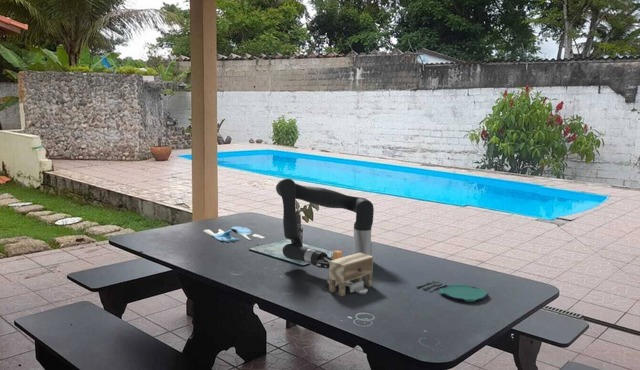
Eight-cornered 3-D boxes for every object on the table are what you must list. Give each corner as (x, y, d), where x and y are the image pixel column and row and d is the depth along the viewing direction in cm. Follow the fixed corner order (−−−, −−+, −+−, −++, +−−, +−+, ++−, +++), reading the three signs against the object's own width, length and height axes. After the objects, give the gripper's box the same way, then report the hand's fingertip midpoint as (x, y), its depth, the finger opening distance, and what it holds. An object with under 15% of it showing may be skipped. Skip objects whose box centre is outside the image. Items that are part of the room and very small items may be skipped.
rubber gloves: (243, 227, 354) (243, 218, 353) (266, 239, 327) (266, 228, 326) (203, 232, 339) (203, 222, 338) (224, 244, 312) (224, 234, 311)
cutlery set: (473, 307, 224) (473, 302, 224) (412, 290, 245) (413, 285, 245) (495, 296, 238) (495, 291, 238) (436, 280, 259) (436, 276, 259)
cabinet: (328, 291, 239) (329, 260, 237) (358, 281, 253) (359, 252, 251) (344, 297, 232) (345, 265, 230) (374, 286, 246) (375, 257, 244)
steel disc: (361, 290, 242) (362, 286, 242) (369, 293, 238) (369, 289, 238) (353, 292, 239) (353, 288, 238) (361, 295, 235) (361, 291, 235)
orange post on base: (325, 283, 249) (326, 251, 246) (337, 279, 254) (338, 248, 252) (351, 292, 237) (352, 259, 235) (363, 288, 243) (364, 256, 240)
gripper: (305, 253, 252) (331, 261, 240) (326, 247, 262) (352, 255, 250) (304, 268, 254) (330, 277, 242) (325, 262, 263) (351, 271, 251)
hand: (341, 266), depth 246 cm, fingers closed on orange post on base, 3 cm apart
